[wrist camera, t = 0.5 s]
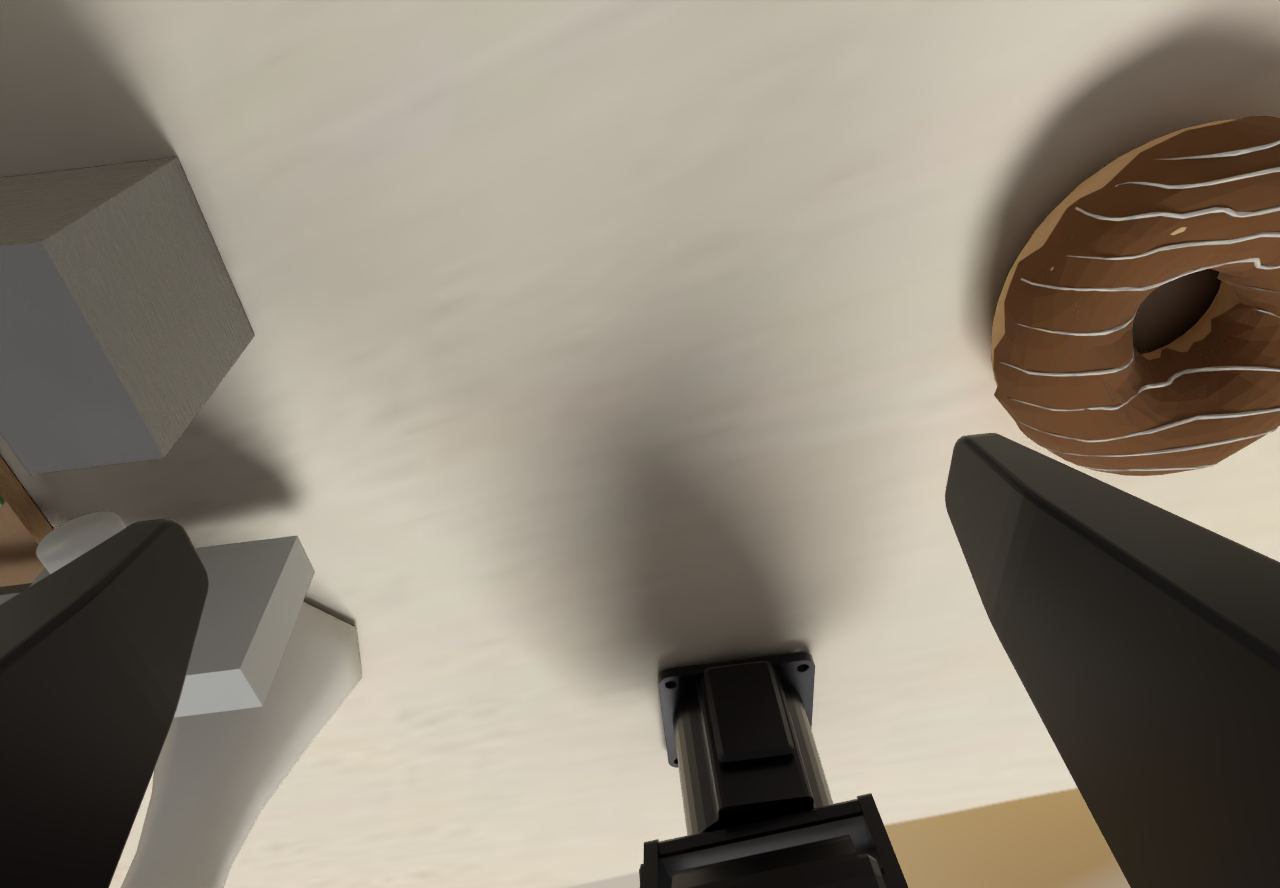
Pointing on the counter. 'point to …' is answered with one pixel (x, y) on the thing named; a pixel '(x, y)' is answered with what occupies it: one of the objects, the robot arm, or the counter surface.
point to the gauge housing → (103, 328)
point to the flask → (240, 760)
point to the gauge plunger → (214, 609)
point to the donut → (1122, 279)
